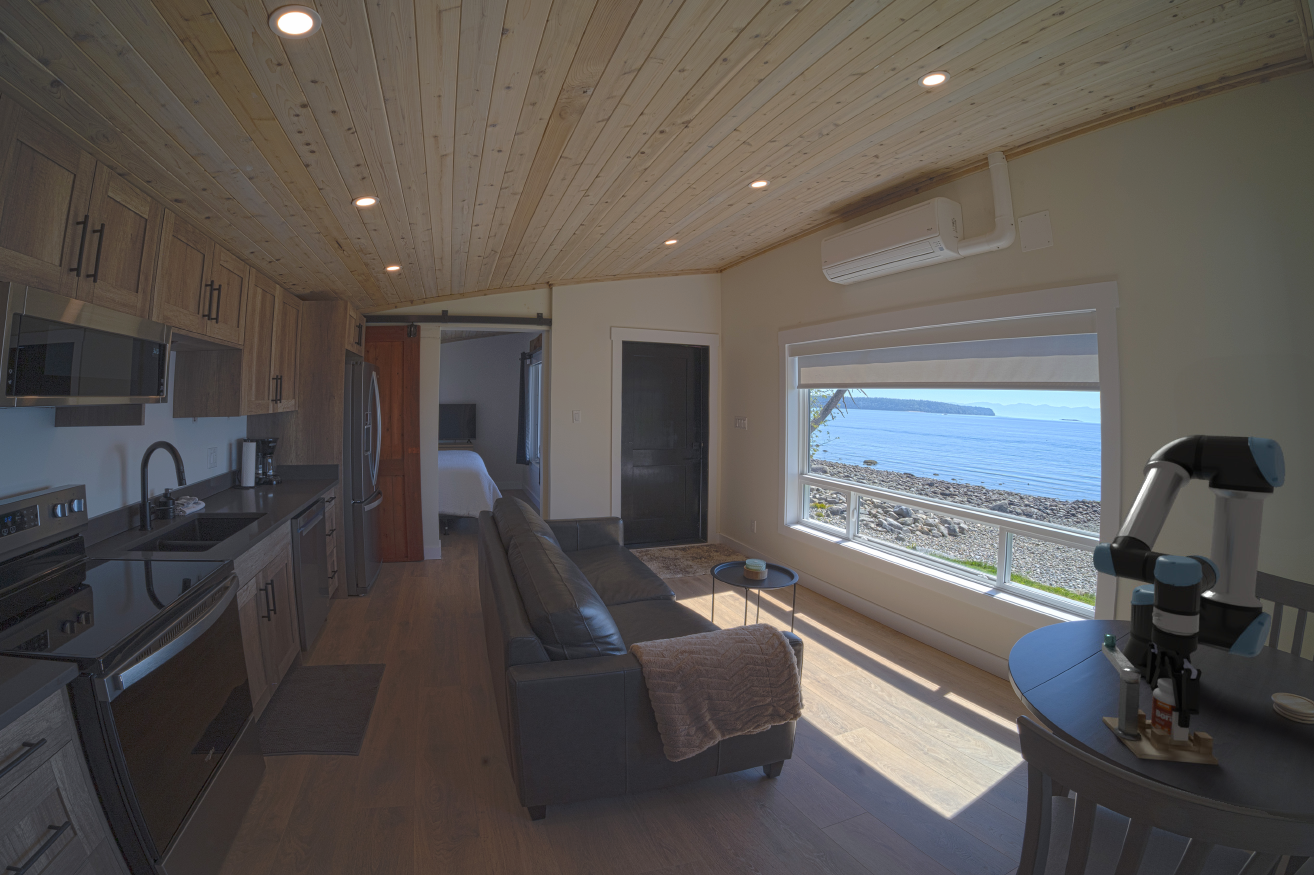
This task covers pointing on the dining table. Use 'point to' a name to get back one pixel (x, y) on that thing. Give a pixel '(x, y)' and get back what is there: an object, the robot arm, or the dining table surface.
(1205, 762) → the socket board
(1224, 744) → the dining table surface
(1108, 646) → the keeper bar
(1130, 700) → the post
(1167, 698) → the pill bottle
